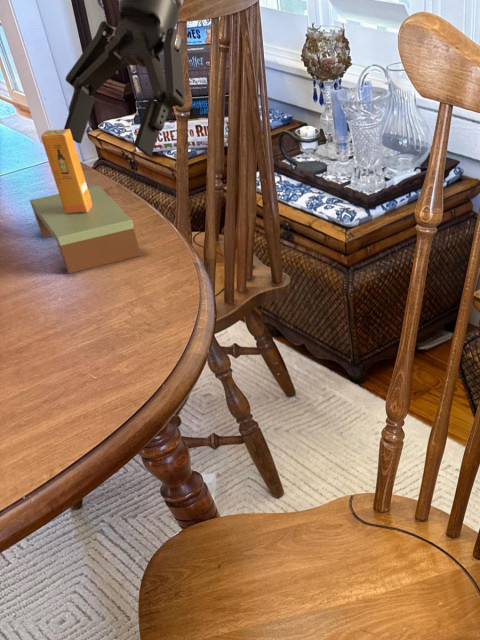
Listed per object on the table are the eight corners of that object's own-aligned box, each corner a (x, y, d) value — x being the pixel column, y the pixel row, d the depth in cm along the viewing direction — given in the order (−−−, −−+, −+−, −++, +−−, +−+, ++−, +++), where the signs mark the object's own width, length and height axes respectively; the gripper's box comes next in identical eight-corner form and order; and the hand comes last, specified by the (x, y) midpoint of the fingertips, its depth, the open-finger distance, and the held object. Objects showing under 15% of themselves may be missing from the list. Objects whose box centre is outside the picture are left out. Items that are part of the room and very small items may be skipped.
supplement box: (94, 204, 110) (71, 127, 103) (88, 213, 108) (64, 135, 101) (70, 205, 110) (46, 128, 103) (64, 214, 108) (38, 136, 101)
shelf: (41, 234, 115) (29, 199, 112) (108, 218, 119) (98, 185, 116) (69, 273, 105) (56, 237, 102) (141, 255, 109) (131, 219, 106)
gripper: (240, 21, 107) (191, 171, 108) (107, 9, 116) (64, 146, 117) (207, -19, 100) (155, 141, 101) (69, -29, 109) (23, 118, 110)
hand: (106, 144), depth 109 cm, fingers open, 13 cm apart
